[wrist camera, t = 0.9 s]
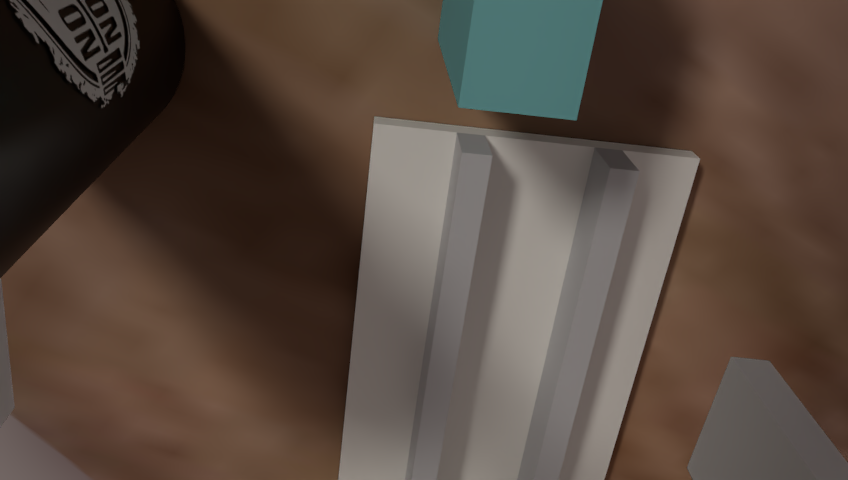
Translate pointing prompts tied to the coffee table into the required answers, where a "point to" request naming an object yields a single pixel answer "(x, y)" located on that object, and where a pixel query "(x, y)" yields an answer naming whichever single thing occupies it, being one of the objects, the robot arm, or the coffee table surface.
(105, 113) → the water bottle
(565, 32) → the teal sliding block
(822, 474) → the robot arm
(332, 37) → the coffee table surface
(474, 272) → the track
